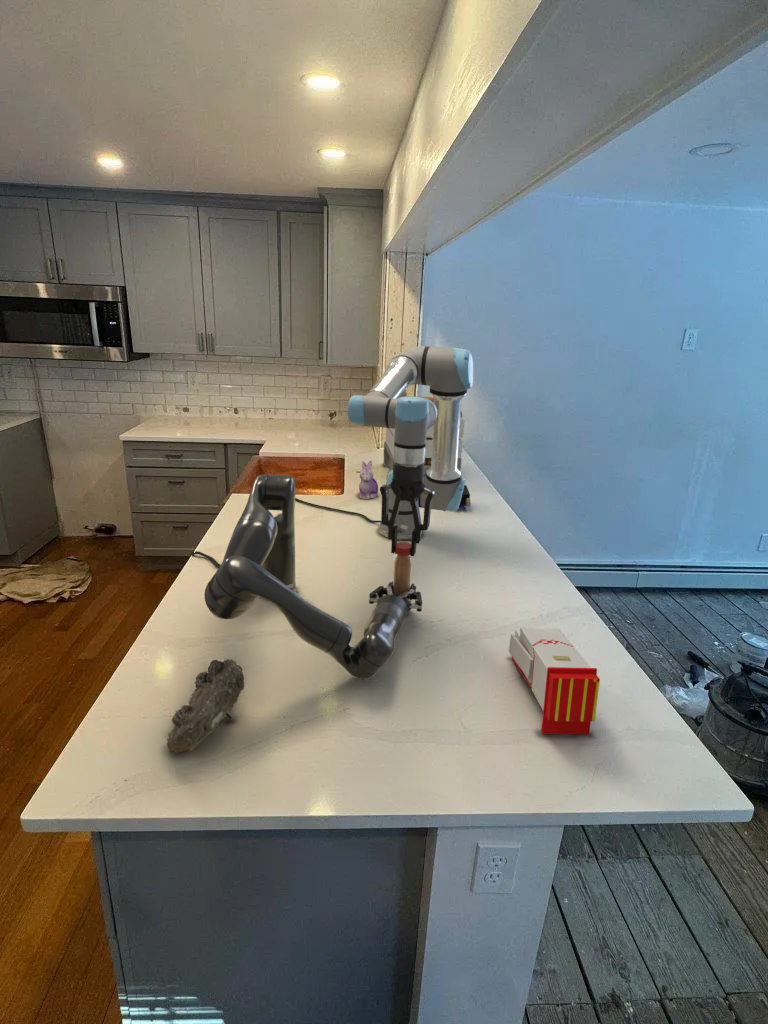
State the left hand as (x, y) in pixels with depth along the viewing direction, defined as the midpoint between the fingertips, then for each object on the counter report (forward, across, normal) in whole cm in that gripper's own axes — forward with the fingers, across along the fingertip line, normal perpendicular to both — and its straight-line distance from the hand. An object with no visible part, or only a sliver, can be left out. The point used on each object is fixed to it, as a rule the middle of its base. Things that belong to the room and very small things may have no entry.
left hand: (403, 585), depth 149 cm
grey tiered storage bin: (+130, -20, -6) cm, 132 cm away
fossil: (-53, -25, -6) cm, 59 cm away
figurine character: (+88, +5, -6) cm, 88 cm away
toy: (-25, +36, -6) cm, 45 cm away
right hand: (-3, 0, +11) cm, 11 cm away
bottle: (-3, 0, -6) cm, 7 cm away
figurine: (+87, -34, -6) cm, 93 cm away
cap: (-3, 0, +12) cm, 13 cm away
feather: (+50, -58, -6) cm, 77 cm away
